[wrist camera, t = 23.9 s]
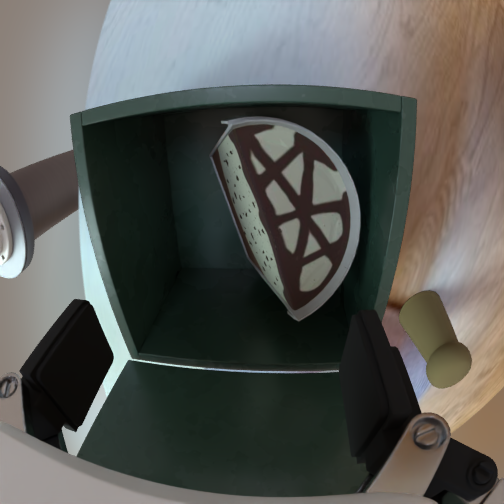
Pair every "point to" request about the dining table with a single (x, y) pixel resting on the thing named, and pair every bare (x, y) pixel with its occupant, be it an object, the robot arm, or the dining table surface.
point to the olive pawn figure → (435, 339)
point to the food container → (289, 207)
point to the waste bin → (232, 222)
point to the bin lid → (227, 432)
